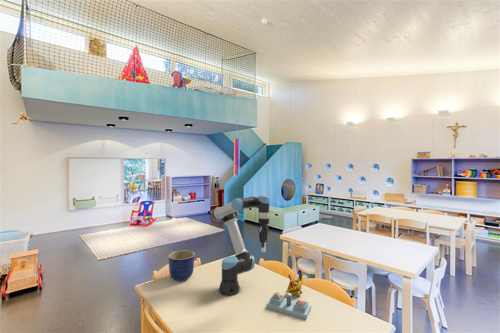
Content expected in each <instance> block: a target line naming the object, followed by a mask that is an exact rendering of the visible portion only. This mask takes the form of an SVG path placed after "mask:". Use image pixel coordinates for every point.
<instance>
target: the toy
mask: <svg viewBox="0 0 500 333" xmlns="http://www.w3.org/2000/svg"><path fill="white" fill-rule="evenodd" d="M287 276H288V278H289V283H288V286H287V289H286V291H285V292H286V293H291V294H292V296H293V295H296V294H297V297H301V294H303V290H302V289H303V288H302V282H303V281H302V280H300V278H297V280H296V279H295V280H294V279H292V277H291V275H290V274H287ZM301 290H302V291H301ZM299 293H300V294H299Z"/></svg>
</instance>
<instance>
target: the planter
mask: <svg viewBox="0 0 500 333" xmlns="http://www.w3.org/2000/svg"><path fill="white" fill-rule="evenodd" d="M195 255H196V254H195V252H194V251H192V250H185V249H182V250H176V251H173V252H171V253H169V254H168V268H169V269H168V271H169V276H170V278H171V279H173V281H178V282H182V281H186V280H188V279H190V278H191V277H192V276H193V273H194V269H195Z"/></svg>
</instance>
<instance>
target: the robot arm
mask: <svg viewBox="0 0 500 333" xmlns="http://www.w3.org/2000/svg"><path fill="white" fill-rule="evenodd" d="M253 208H254V209H258V210H257V211H258V215H257V217H258V218H257V219H258V223H257V224H259V225H260V226H259V229H257V230H258V235H259V236H258V237H259V243H260V244H261V245H260V246H261V247H260V248H261V249H260V252H262V253H266V250H267V249H266V246H267V245H266V244H267V242H268V235H269V234H268V233H269V224H270V215H271V214H270V196H269V195H265V194H262V195H259V196H258V197H257V196H254V195H253V196H248V197H242V198H241V197H240V198H237V197H236V198H234V199H232V201H231V202H229V203H227V204H224V205H222V206H217V207H215V208H214V209H212V211H211V214H210V215H211V219H212V220H214V221H215V222H219V223H220V222H224V223H223V224H224V225H225V226H226V227H227V230H228V233H229V236H230V240H231V242H232V246H233V249H234V253H235V255H234V256H233V255H231V256H230V255H229V256H226V257H224V258H223V259H222V261H221V281H220V284H219V288H218V289H219V291H218V292H219V293H220V295H223V296H234V295H237V294H238V293H240V291H241V290H240V288H241V287H240V284H239V280H238V275H241V274H244V273H249V271H252V270H253V269H254V268H255V264H256V259H255V257H254V255H253V254H251V253H250V251H249V250H247V249H246V246H245V242H244V240H243V237H242V234H241V231H240V227H239V224H238V220H239V211H241V210H245V209H253Z"/></svg>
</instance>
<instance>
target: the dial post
mask: <svg viewBox="0 0 500 333" xmlns="http://www.w3.org/2000/svg"><path fill="white" fill-rule="evenodd" d="M285 296H286V299H287V306H291V300H292V296H293V295H292V294H291V293H289V292H286V293H285Z"/></svg>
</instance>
